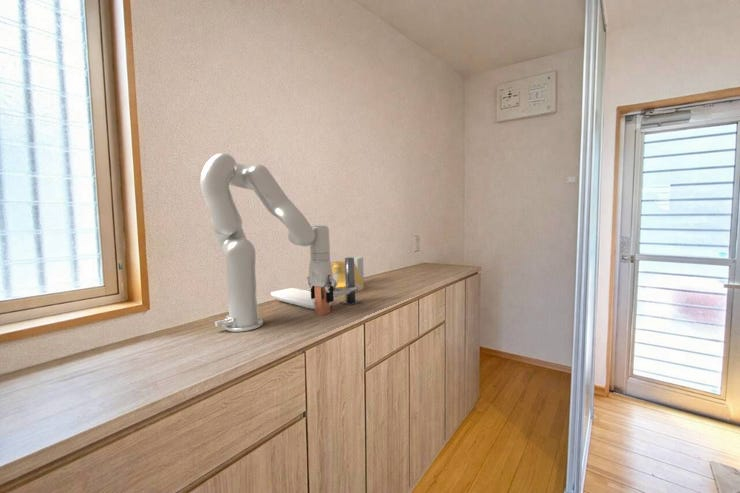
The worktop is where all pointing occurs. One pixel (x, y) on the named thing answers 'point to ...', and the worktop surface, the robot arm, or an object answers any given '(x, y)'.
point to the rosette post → (348, 284)
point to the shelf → (296, 297)
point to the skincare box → (359, 266)
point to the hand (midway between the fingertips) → (322, 300)
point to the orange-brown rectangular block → (321, 301)
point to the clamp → (341, 279)
